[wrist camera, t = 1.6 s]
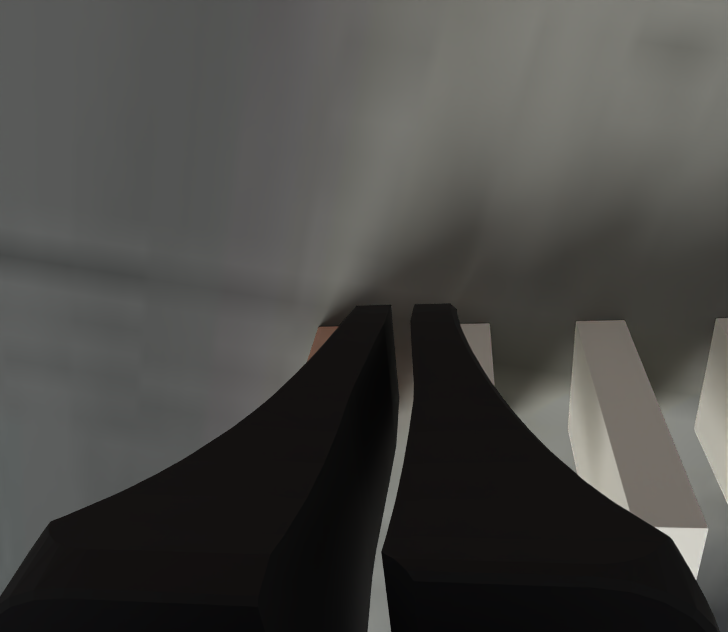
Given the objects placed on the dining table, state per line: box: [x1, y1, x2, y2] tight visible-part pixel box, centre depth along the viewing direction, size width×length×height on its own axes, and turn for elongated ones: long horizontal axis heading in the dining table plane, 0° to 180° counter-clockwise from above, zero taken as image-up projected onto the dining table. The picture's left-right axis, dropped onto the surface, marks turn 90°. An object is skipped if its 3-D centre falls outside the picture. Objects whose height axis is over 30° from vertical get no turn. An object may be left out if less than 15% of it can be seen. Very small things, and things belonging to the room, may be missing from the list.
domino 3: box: [568, 320, 708, 579], centre depth 20 cm, size 2×5×9 cm, turn 5°
